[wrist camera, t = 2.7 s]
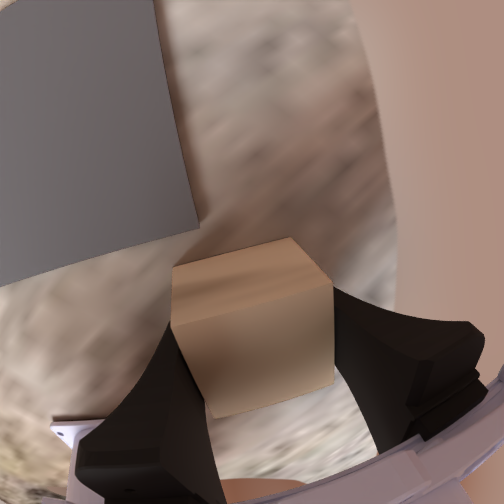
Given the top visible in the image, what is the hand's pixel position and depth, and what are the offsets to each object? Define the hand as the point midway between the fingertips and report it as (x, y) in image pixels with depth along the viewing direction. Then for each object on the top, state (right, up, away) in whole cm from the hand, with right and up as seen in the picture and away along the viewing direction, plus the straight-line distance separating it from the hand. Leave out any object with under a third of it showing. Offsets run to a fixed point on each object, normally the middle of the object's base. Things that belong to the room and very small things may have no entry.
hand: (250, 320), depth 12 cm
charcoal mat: (-9, +8, -4) cm, 12 cm away
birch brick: (0, +1, +1) cm, 1 cm away
